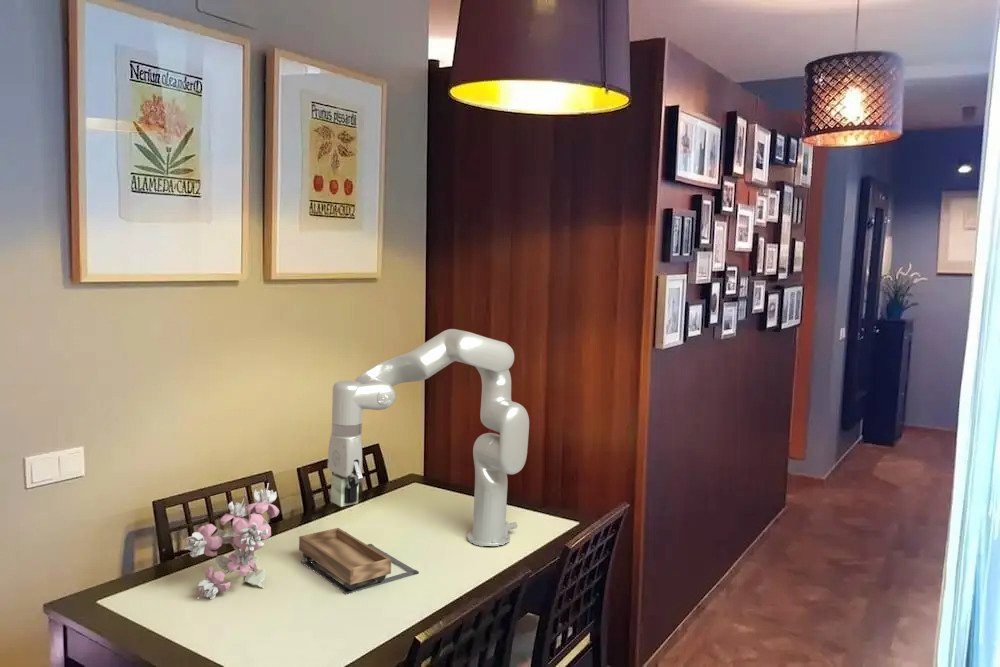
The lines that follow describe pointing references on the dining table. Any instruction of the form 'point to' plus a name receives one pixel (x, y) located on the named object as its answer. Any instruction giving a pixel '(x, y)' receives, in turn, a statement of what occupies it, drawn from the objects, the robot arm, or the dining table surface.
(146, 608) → the dining table surface
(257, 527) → the flower
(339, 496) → the sage block
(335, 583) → the grey flat square frame
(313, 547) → the cart
